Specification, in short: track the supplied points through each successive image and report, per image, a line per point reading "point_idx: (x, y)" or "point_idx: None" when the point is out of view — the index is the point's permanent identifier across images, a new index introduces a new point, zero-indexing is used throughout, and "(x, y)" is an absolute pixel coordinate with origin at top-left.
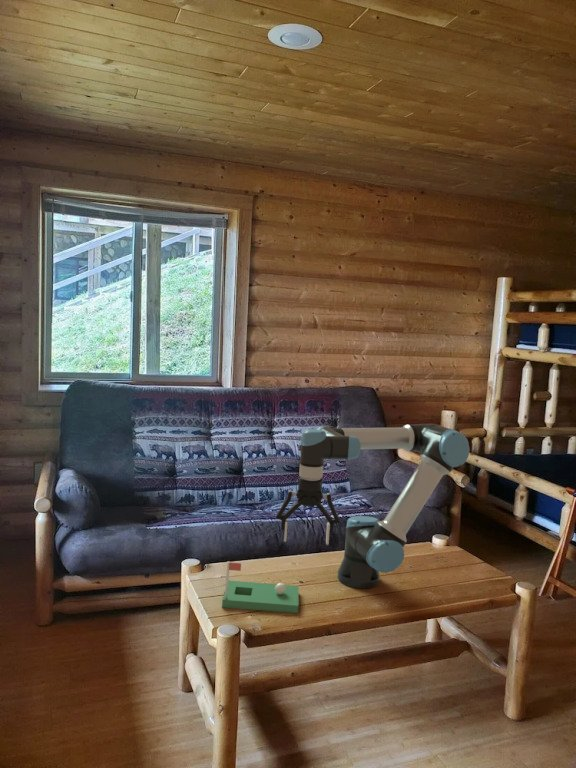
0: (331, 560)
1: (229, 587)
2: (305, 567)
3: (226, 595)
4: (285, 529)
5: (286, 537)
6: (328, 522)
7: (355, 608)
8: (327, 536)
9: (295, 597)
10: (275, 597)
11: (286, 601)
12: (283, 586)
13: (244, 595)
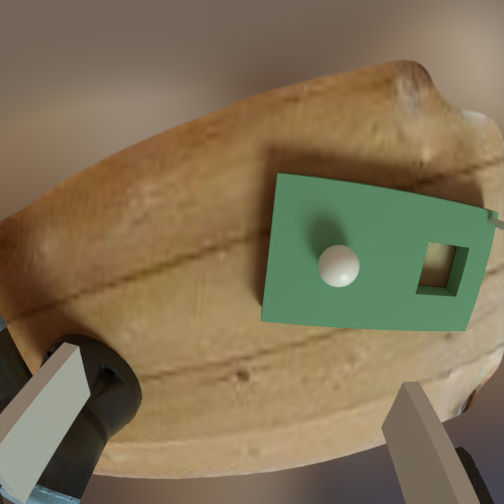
0: (161, 456)
1: (471, 289)
2: (224, 437)
3: (496, 219)
4: (449, 454)
5: (414, 404)
6: (11, 493)
7: (94, 224)
8: (40, 383)
9: (282, 236)
10: (354, 232)
11: (319, 203)
12: (333, 259)
13: (445, 241)
